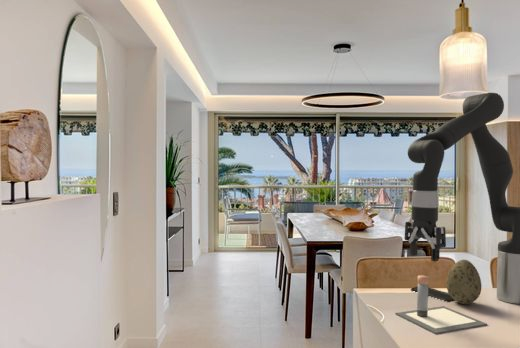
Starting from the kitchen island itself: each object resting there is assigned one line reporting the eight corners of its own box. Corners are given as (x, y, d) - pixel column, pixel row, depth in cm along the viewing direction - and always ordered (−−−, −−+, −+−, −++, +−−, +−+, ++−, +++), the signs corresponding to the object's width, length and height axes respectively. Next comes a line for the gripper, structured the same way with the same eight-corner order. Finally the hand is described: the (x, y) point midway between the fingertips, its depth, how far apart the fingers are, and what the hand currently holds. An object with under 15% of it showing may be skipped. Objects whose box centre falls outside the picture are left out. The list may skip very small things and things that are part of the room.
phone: (422, 285, 154) (459, 296, 141) (422, 288, 154) (459, 299, 141) (409, 288, 150) (446, 299, 137) (409, 291, 150) (446, 303, 137)
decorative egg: (488, 307, 132) (489, 262, 132) (460, 309, 130) (461, 263, 130) (465, 297, 142) (466, 256, 142) (439, 299, 140) (440, 256, 140)
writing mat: (443, 307, 131) (443, 305, 131) (487, 325, 117) (487, 323, 117) (395, 314, 124) (395, 312, 124) (435, 334, 109) (435, 332, 109)
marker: (422, 313, 124) (423, 275, 123) (430, 316, 121) (431, 277, 121) (414, 314, 122) (415, 275, 122) (422, 318, 119) (423, 278, 119)
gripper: (453, 207, 116) (452, 262, 116) (417, 203, 129) (416, 252, 129) (433, 207, 113) (432, 264, 113) (398, 203, 126) (397, 254, 127)
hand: (423, 258), depth 121 cm, fingers open, 8 cm apart
